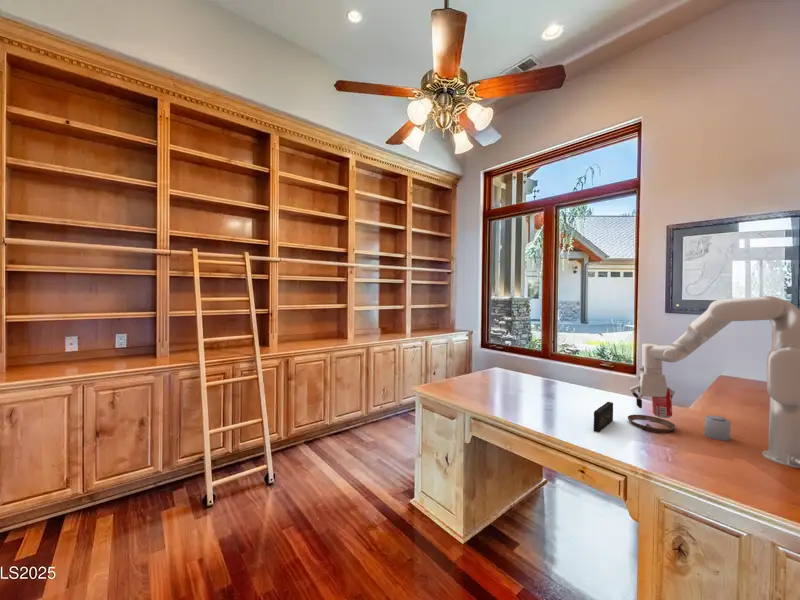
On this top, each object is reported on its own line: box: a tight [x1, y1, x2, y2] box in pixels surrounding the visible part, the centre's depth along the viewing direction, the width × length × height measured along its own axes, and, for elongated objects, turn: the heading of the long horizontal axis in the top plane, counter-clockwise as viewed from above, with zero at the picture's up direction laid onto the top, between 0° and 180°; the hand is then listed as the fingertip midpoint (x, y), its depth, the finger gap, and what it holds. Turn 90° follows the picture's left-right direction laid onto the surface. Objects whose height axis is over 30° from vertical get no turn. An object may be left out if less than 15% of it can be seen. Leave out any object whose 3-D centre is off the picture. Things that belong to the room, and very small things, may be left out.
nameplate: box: [593, 401, 614, 433], centre depth 156 cm, size 21×2×10 cm, turn 134°
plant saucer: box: [627, 414, 677, 434], centre depth 158 cm, size 18×18×3 cm
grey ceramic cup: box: [704, 414, 732, 442], centre depth 146 cm, size 8×8×9 cm
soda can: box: [651, 386, 673, 419], centre depth 157 cm, size 7×7×13 cm
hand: (651, 408), depth 157 cm, fingers open, 9 cm apart
